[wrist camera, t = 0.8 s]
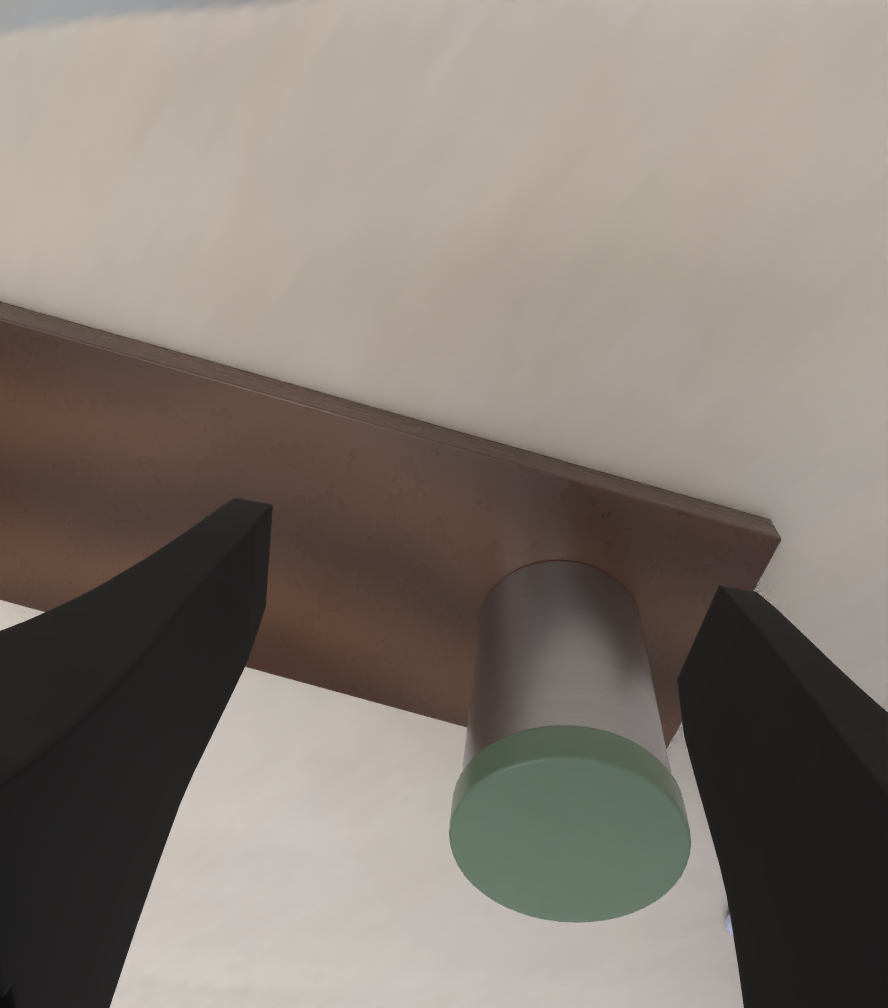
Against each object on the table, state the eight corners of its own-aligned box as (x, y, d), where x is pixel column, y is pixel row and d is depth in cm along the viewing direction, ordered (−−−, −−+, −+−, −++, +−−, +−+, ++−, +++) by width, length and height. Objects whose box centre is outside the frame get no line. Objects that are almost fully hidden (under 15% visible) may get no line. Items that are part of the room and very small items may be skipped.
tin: (609, 711, 26) (638, 946, 18) (455, 668, 25) (424, 889, 18) (671, 582, 23) (732, 797, 16) (501, 535, 23) (485, 729, 16)
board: (646, 752, 28) (651, 778, 27) (-5, 574, 27) (-27, 593, 26) (770, 519, 23) (782, 539, 22) (-12, 297, 23) (-40, 307, 21)
